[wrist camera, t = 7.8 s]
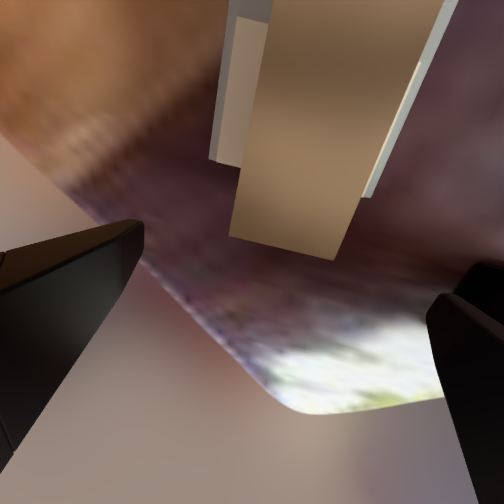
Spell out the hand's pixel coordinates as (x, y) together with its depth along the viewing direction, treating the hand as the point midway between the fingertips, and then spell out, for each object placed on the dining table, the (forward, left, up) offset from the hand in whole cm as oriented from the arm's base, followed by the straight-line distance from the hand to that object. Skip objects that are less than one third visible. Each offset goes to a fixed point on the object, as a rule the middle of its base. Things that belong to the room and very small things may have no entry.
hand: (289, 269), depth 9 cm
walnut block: (+5, 0, -10) cm, 11 cm away
